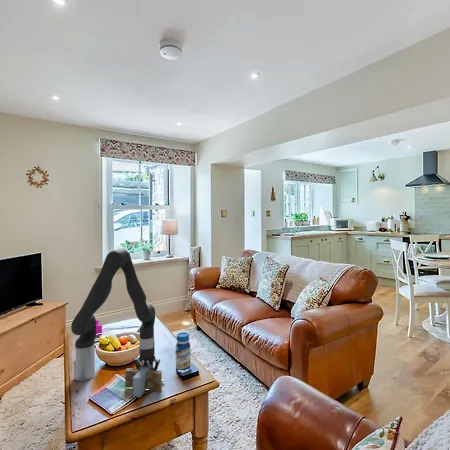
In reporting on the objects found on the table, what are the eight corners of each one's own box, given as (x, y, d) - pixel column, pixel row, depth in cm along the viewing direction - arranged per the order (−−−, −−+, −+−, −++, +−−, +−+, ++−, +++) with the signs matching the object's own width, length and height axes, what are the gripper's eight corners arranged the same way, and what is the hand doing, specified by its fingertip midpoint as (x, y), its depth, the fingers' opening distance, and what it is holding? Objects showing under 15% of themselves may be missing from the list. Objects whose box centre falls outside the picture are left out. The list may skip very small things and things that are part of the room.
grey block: (133, 396, 135) (133, 377, 135) (146, 380, 149) (146, 363, 149) (140, 397, 135) (140, 378, 135) (152, 380, 149) (152, 363, 149)
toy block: (89, 330, 220) (88, 321, 219) (97, 329, 223) (97, 319, 223) (92, 337, 207) (92, 326, 207) (102, 335, 211) (102, 325, 211)
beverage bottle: (190, 365, 164) (190, 331, 164) (191, 373, 156) (190, 336, 156) (175, 367, 163) (175, 332, 163) (175, 374, 155) (174, 337, 155)
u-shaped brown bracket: (125, 388, 142) (125, 370, 142) (127, 385, 145) (127, 368, 145) (159, 391, 139) (159, 373, 139) (161, 388, 142) (161, 370, 142)
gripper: (130, 347, 144) (130, 382, 144) (157, 349, 141) (157, 384, 142) (137, 341, 151) (137, 374, 151) (162, 343, 149) (163, 376, 149)
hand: (147, 378), depth 147 cm, fingers closed on grey block, 3 cm apart
